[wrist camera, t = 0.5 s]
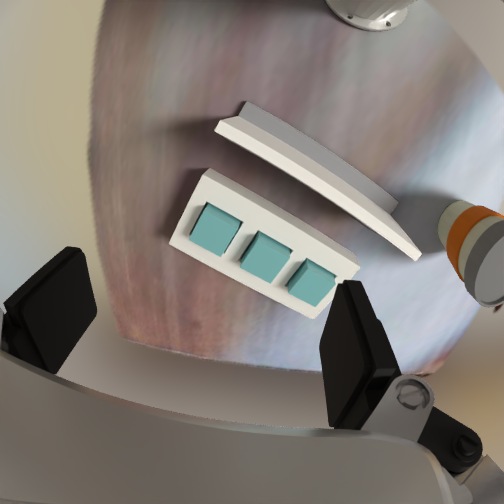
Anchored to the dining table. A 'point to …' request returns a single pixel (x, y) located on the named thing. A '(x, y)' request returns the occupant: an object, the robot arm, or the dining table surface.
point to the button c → (311, 282)
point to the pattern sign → (317, 170)
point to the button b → (265, 257)
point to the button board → (270, 223)
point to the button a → (214, 230)
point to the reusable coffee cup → (475, 249)
